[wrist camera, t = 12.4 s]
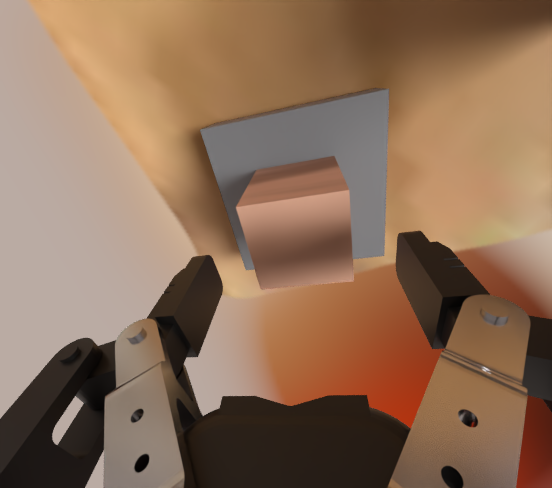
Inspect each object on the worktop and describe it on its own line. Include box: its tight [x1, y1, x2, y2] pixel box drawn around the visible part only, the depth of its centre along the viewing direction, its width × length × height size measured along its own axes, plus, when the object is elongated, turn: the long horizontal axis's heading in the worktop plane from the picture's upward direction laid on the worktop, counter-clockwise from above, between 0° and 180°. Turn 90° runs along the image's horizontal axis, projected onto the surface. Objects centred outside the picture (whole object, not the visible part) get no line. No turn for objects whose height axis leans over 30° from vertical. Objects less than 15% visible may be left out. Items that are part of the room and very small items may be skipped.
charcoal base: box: [200, 88, 389, 270], centre depth 19 cm, size 11×11×3 cm
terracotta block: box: [236, 156, 354, 289], centre depth 15 cm, size 5×5×6 cm
